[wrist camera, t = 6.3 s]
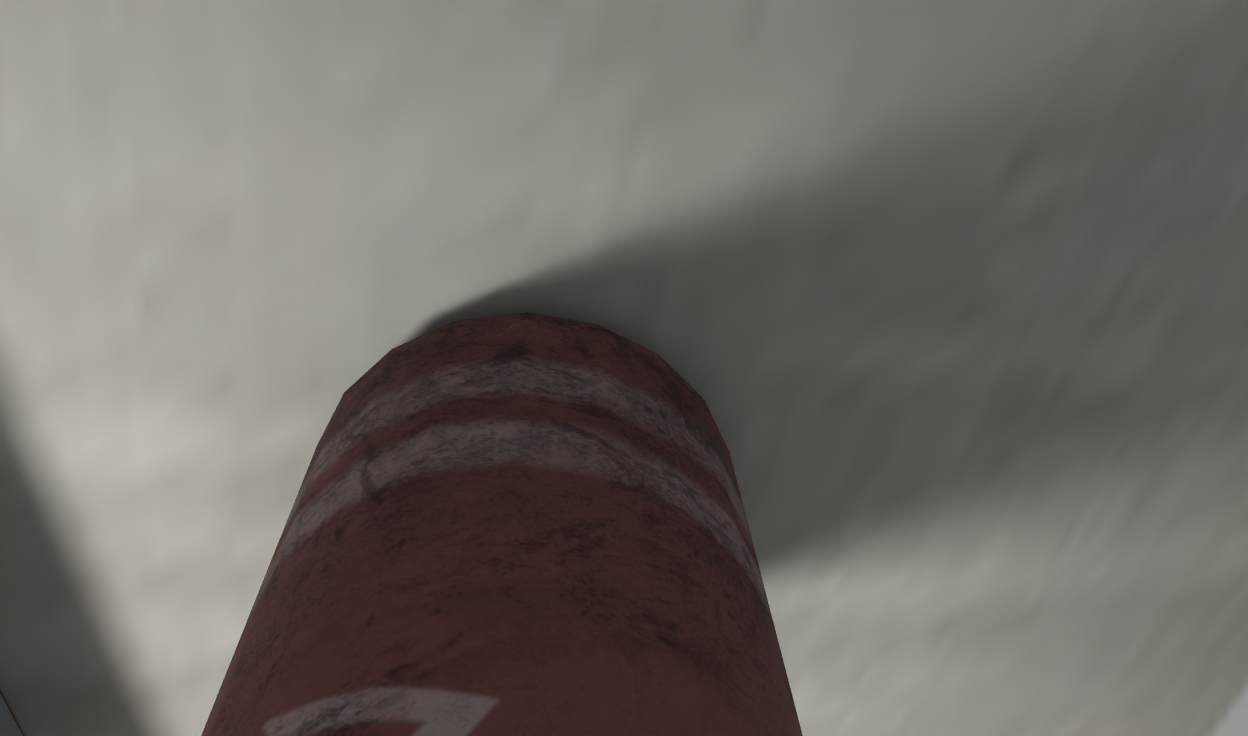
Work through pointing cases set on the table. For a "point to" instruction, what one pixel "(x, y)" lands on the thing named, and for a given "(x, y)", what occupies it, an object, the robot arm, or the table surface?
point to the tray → (7, 721)
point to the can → (513, 555)
